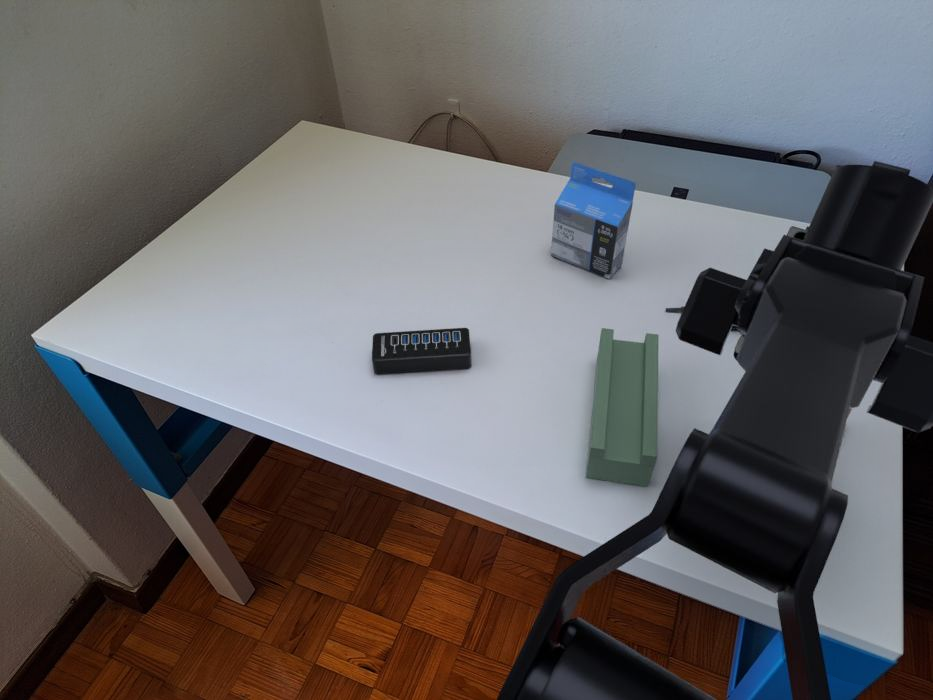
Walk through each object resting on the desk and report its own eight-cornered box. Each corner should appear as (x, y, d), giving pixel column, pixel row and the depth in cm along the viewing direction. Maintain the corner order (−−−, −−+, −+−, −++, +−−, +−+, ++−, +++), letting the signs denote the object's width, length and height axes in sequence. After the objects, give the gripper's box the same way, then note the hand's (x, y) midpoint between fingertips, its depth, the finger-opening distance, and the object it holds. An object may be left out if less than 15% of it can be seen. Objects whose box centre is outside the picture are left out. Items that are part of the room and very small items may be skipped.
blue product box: (548, 256, 90) (554, 174, 81) (563, 241, 93) (570, 160, 84) (609, 280, 87) (622, 197, 78) (623, 264, 89) (637, 181, 80)
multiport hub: (471, 368, 77) (471, 354, 75) (374, 375, 77) (371, 361, 75) (469, 341, 80) (468, 326, 78) (375, 346, 80) (373, 332, 78)
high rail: (648, 487, 66) (657, 457, 62) (585, 477, 66) (590, 447, 63) (651, 366, 76) (658, 334, 73) (596, 359, 77) (601, 327, 74)
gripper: (1031, 271, 41) (965, 303, 55) (722, 183, 48) (735, 231, 62) (948, 441, 42) (905, 429, 56) (660, 329, 49) (686, 344, 64)
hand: (803, 351), depth 59 cm, fingers closed on black hanger, 2 cm apart
